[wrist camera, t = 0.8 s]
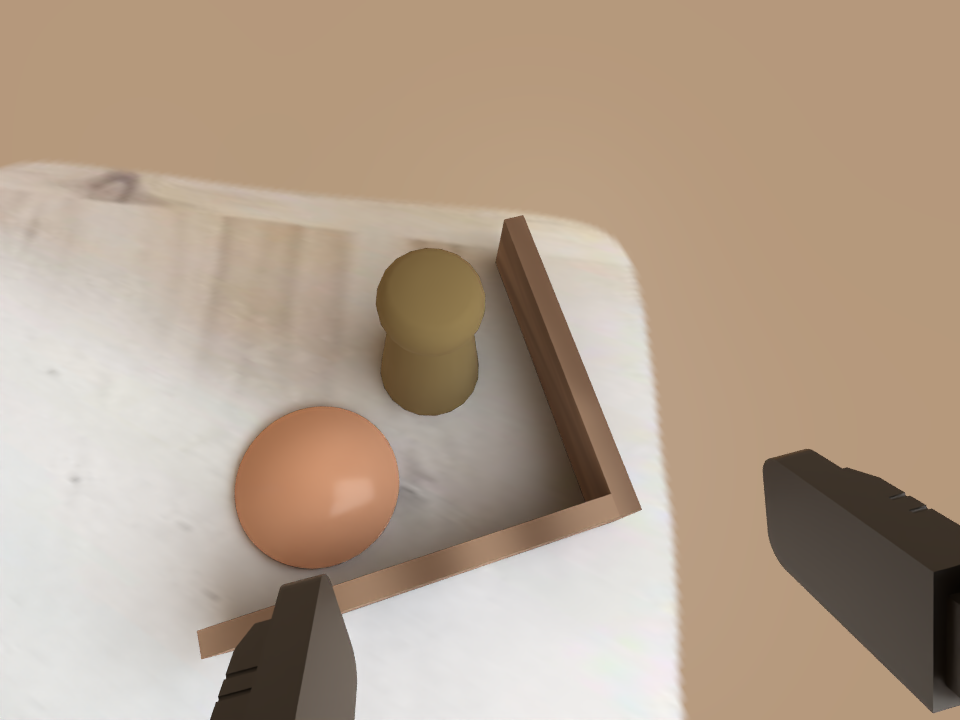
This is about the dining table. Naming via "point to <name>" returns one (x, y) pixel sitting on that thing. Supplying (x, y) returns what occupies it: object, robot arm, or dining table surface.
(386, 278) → the cork
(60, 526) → the dining table surface
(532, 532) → the walnut corner walls
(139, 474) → the dining table surface
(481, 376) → the dining table surface
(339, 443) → the terracotta coaster
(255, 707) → the robot arm
